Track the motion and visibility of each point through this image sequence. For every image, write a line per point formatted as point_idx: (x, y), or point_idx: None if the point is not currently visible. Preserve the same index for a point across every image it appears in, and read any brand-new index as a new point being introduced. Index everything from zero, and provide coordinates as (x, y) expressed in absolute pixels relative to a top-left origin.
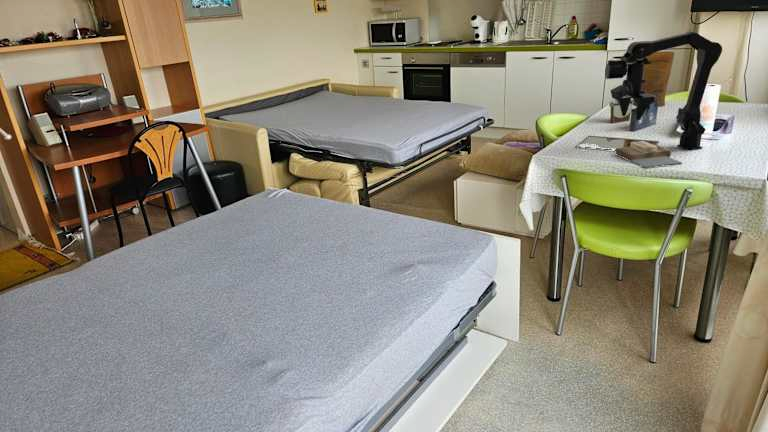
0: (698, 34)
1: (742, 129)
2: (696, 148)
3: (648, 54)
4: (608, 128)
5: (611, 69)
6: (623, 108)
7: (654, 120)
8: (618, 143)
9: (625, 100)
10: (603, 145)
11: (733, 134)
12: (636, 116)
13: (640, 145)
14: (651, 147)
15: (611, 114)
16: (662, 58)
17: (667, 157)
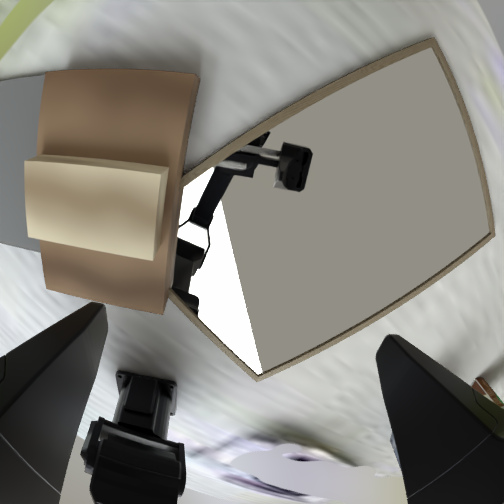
0: None
1: (233, 491)
2: (119, 391)
3: None
4: (474, 348)
5: None
6: (430, 402)
7: (394, 445)
8: (352, 246)
9: (460, 497)
10: (377, 157)
11: (211, 478)
12: (77, 326)
13: (69, 173)
14: (25, 201)
15: (492, 392)
16: None
17: (35, 245)
